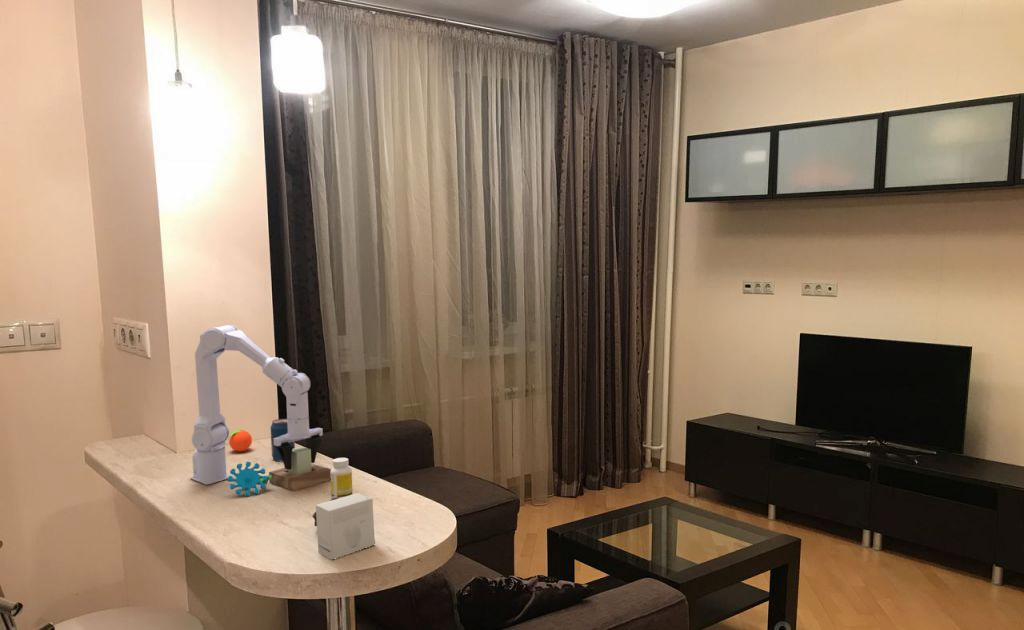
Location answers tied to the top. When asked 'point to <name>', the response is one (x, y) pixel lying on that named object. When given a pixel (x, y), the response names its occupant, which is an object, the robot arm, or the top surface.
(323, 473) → the walnut collar
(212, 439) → the robot arm
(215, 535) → the top surface
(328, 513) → the skincare box
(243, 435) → the clementine
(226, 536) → the top surface
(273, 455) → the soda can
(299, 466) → the sage peg
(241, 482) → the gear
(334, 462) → the supplement bottle
